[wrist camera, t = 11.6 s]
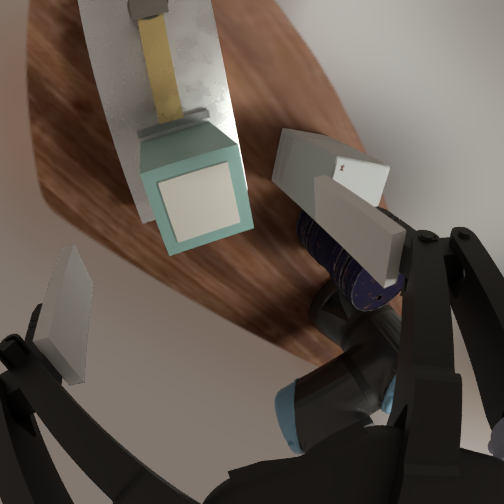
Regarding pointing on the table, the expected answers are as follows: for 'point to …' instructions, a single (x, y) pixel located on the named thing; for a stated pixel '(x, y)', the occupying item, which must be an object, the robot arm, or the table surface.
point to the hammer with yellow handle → (157, 56)
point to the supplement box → (325, 168)
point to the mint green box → (195, 186)
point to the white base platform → (138, 85)
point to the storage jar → (344, 267)
